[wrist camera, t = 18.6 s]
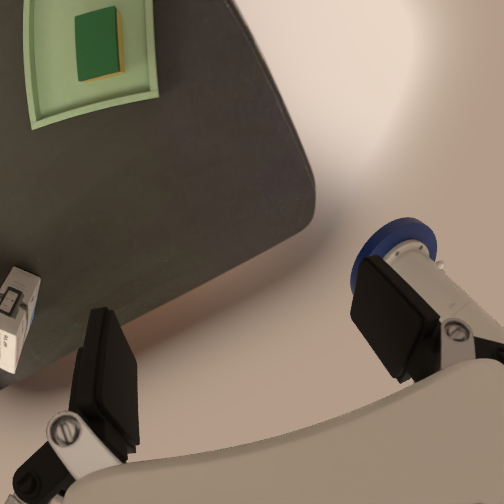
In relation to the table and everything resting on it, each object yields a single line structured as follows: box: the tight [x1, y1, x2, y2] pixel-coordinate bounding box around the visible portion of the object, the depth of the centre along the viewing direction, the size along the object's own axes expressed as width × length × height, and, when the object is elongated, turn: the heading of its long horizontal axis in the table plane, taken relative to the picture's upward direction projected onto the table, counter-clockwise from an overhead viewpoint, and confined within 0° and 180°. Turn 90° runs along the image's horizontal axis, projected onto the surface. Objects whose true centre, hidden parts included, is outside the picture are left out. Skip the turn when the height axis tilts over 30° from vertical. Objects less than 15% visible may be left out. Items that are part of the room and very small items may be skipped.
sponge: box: [75, 6, 125, 82], centre depth 21 cm, size 7×4×4 cm, turn 3°
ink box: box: [0, 266, 41, 374], centre depth 29 cm, size 8×5×15 cm, turn 146°
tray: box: [23, 0, 159, 130], centre depth 21 cm, size 20×15×2 cm
